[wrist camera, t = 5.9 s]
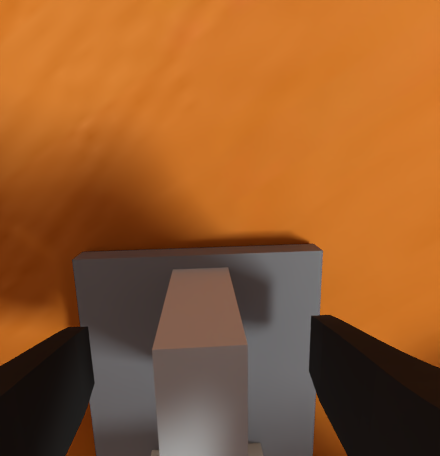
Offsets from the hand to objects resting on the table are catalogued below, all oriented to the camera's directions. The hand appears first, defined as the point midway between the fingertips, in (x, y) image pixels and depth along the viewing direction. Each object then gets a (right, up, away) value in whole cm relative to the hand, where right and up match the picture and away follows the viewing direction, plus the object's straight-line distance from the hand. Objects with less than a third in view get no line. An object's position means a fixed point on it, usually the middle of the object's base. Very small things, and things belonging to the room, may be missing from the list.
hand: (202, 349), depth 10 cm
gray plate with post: (0, -6, +4) cm, 7 cm away
